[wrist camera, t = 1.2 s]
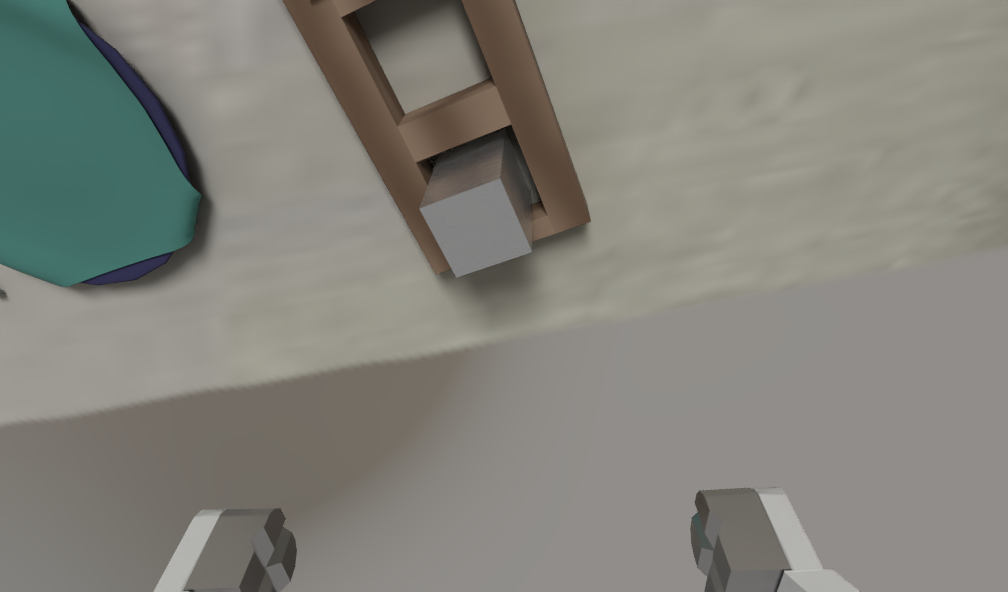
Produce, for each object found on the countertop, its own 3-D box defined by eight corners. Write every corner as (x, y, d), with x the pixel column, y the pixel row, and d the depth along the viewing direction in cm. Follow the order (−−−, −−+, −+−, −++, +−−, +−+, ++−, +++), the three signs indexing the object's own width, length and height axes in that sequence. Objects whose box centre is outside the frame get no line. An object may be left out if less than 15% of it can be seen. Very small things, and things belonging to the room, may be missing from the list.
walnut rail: (405, -310, 24) (392, -334, 22) (587, 204, 37) (591, 223, 35) (203, -182, 27) (172, -192, 24) (440, 255, 40) (435, 276, 38)
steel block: (504, 128, 35) (500, 178, 28) (531, 192, 37) (532, 252, 30) (438, 154, 36) (419, 208, 29) (468, 215, 38) (456, 277, 31)
